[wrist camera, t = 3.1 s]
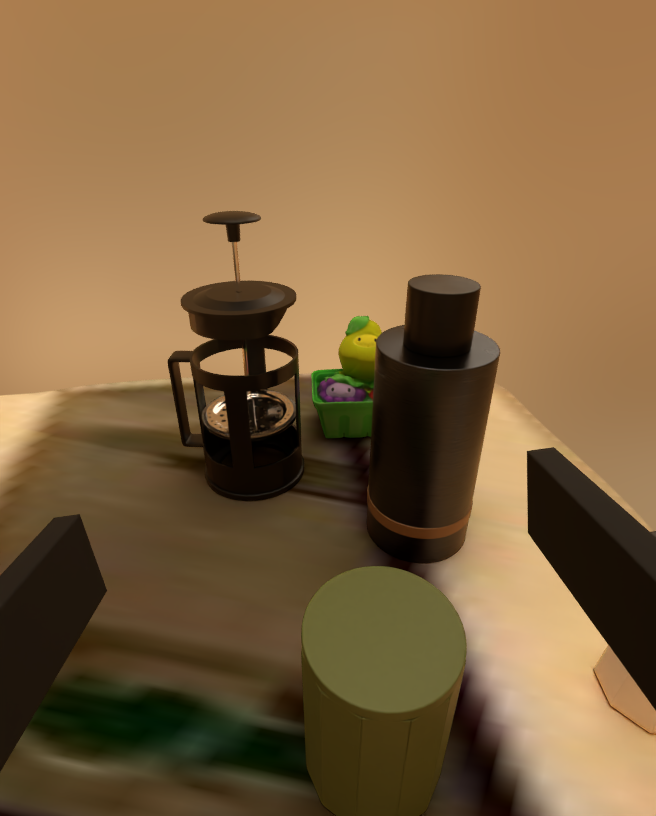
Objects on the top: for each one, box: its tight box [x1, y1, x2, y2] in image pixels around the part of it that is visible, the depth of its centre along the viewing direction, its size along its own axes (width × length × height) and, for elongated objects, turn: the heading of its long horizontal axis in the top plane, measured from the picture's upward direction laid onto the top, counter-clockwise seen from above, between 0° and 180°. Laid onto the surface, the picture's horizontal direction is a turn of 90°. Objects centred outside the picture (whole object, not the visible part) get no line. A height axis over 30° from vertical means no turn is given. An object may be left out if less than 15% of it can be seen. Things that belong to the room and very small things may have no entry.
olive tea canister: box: [301, 566, 466, 816], centre depth 23 cm, size 7×7×10 cm
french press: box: [168, 211, 304, 501], centre depth 41 cm, size 12×9×23 cm
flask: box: [367, 275, 500, 563], centre depth 35 cm, size 8×8×20 cm
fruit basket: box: [311, 316, 382, 438], centre depth 52 cm, size 11×9×11 cm
